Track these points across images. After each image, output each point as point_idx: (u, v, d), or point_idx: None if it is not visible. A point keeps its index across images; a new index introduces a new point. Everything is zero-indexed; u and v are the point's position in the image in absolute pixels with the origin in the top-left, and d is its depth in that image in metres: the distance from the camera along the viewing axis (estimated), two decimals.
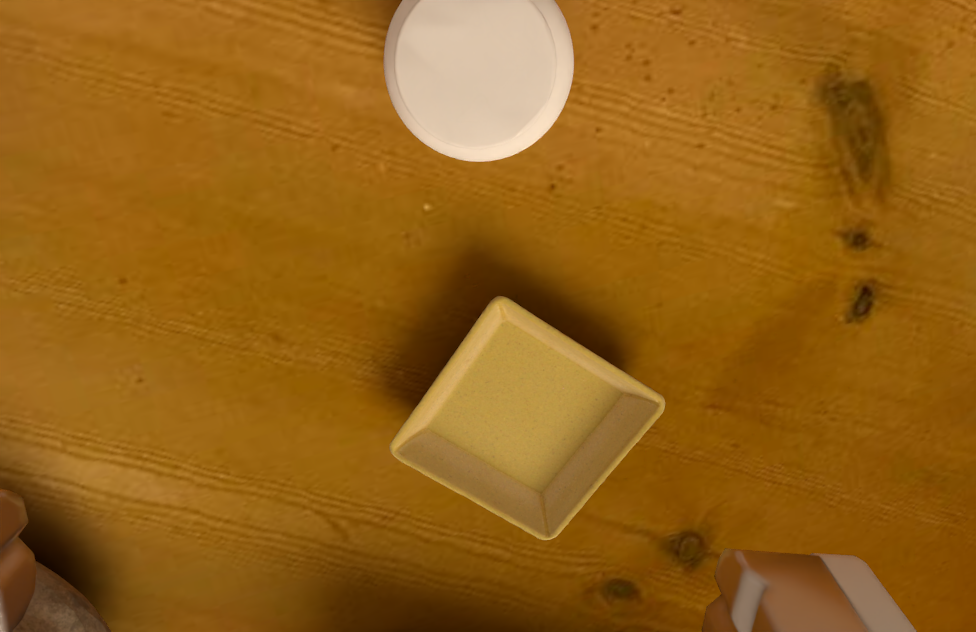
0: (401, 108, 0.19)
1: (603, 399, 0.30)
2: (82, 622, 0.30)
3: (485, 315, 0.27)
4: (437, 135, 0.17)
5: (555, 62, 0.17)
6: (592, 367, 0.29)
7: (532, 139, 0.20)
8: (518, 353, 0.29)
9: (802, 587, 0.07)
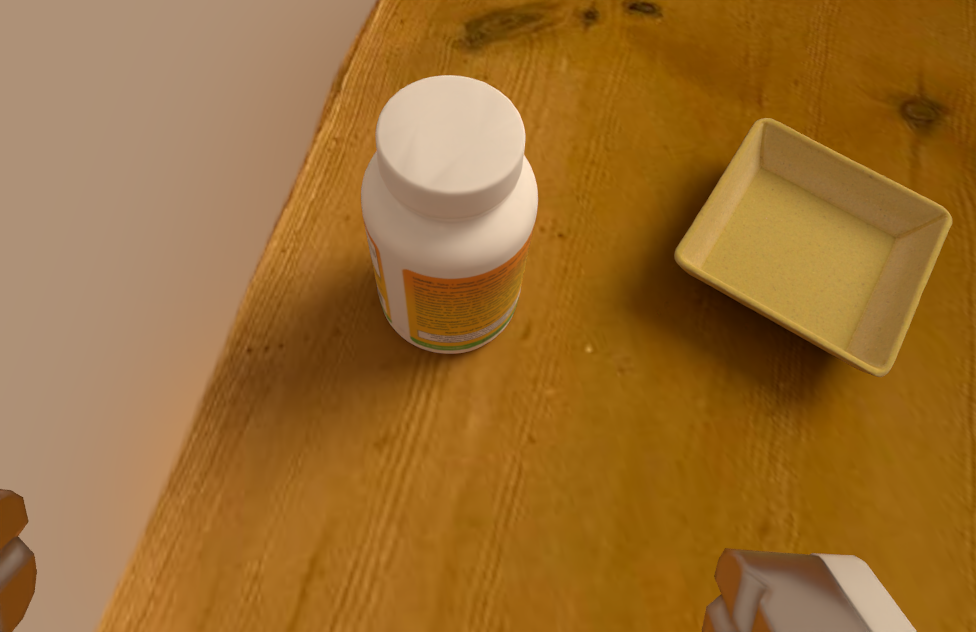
0: (489, 247, 0.20)
1: (771, 183, 0.29)
2: None
3: (697, 269, 0.26)
4: (513, 162, 0.18)
5: (449, 76, 0.19)
6: (738, 188, 0.29)
7: None
8: (735, 259, 0.28)
9: (802, 587, 0.07)
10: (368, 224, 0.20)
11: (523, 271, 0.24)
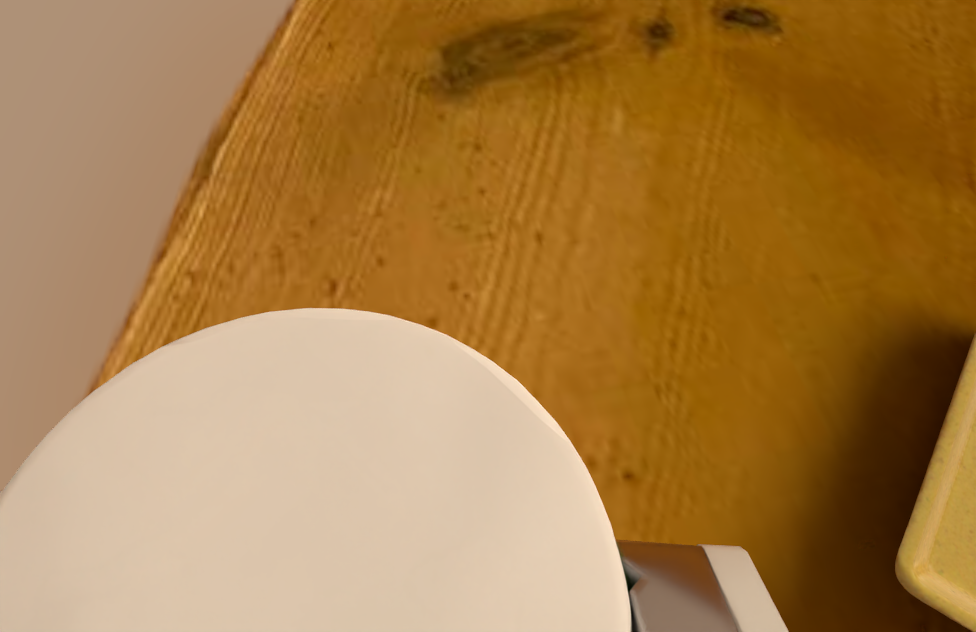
0: None
1: None
2: None
3: (954, 608, 0.11)
4: None
5: (311, 310, 0.05)
6: None
7: None
8: None
9: (677, 577, 0.07)
10: None
11: None
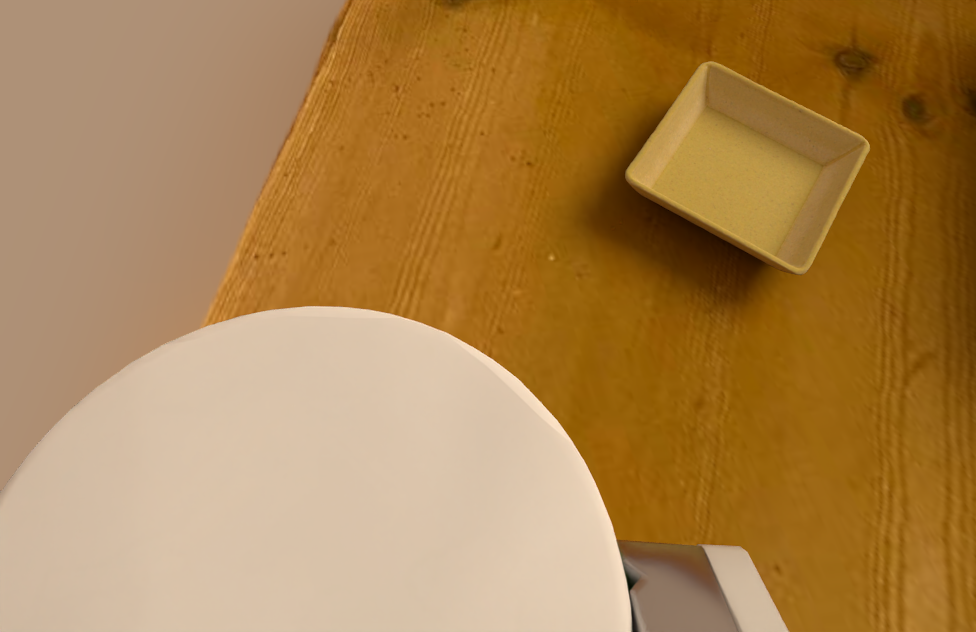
0: None
1: (715, 119, 0.33)
2: None
3: (644, 186, 0.30)
4: None
5: (312, 309, 0.05)
6: (684, 122, 0.33)
7: None
8: (681, 182, 0.32)
9: (677, 577, 0.07)
10: None
11: None
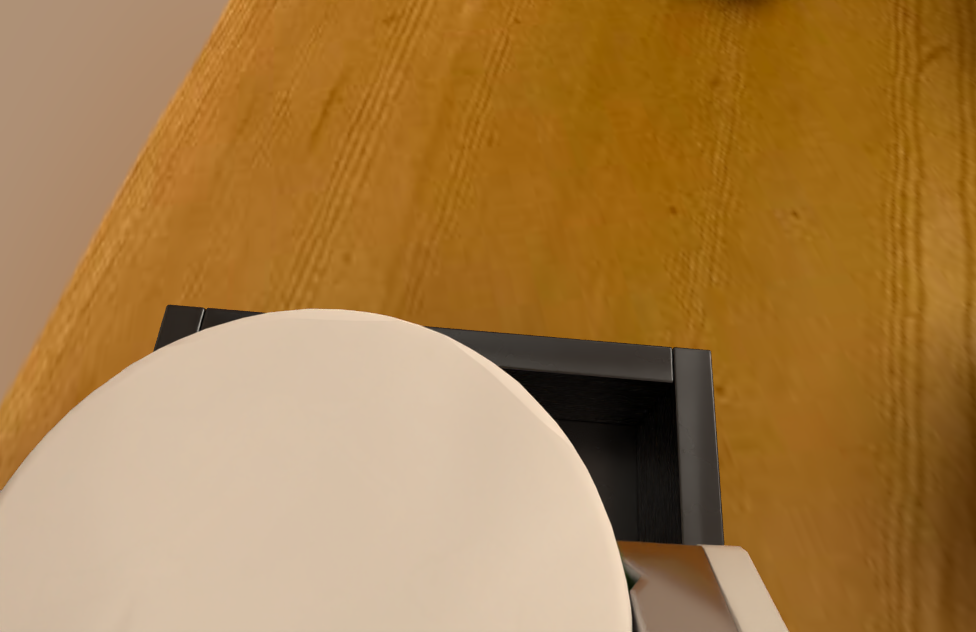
0: None
1: None
2: None
3: None
4: None
5: (311, 311, 0.05)
6: None
7: None
8: None
9: (677, 577, 0.07)
10: None
11: None
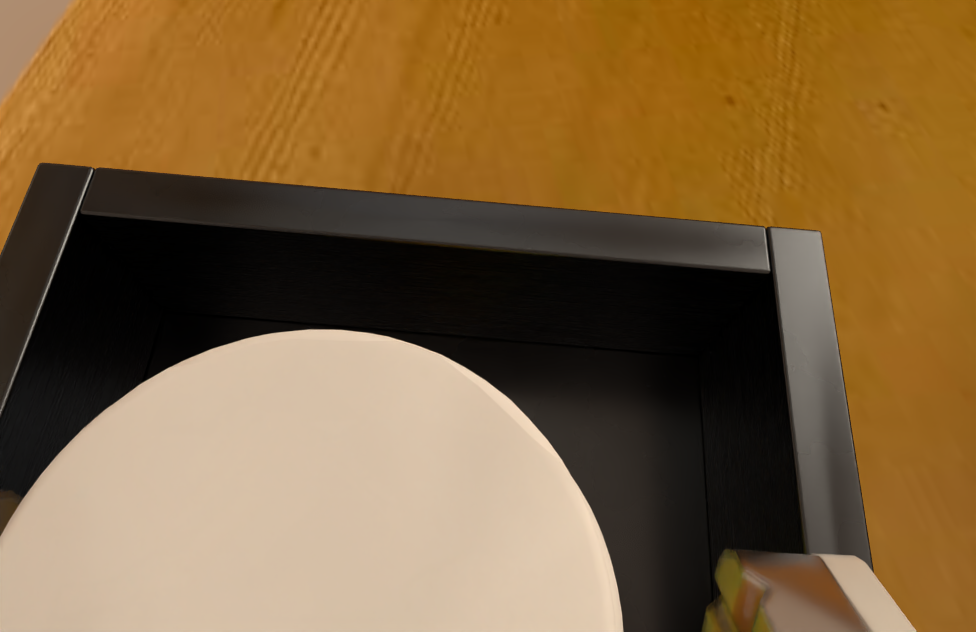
0: None
1: None
2: None
3: None
4: None
5: (312, 331, 0.05)
6: None
7: None
8: None
9: (802, 587, 0.07)
10: None
11: None
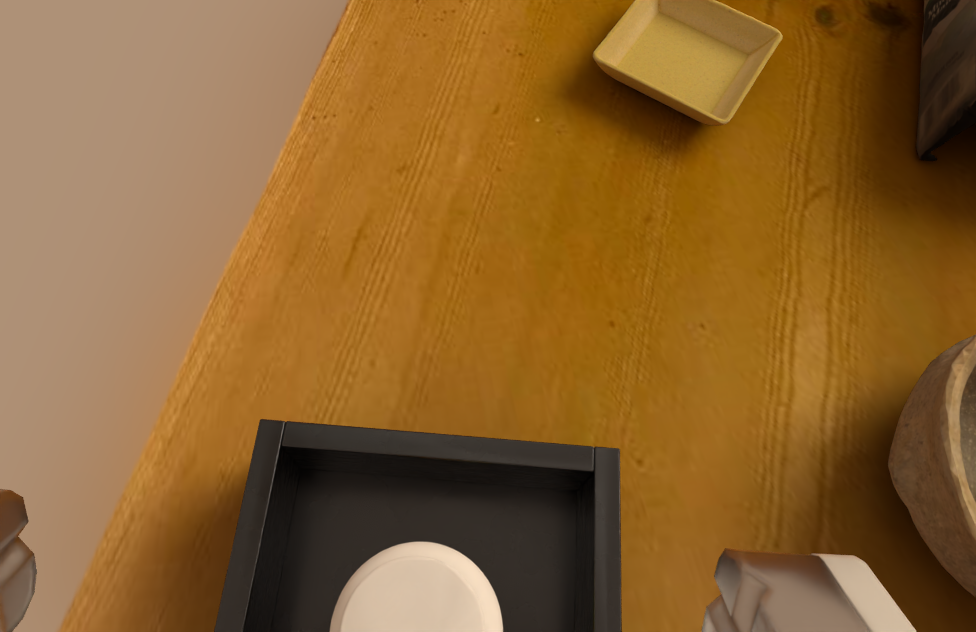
0: None
1: (665, 21, 0.43)
2: (957, 343, 0.31)
3: (607, 62, 0.39)
4: None
5: (411, 556, 0.19)
6: (641, 22, 0.42)
7: (481, 577, 0.22)
8: (637, 65, 0.41)
9: (802, 587, 0.07)
10: None
11: None
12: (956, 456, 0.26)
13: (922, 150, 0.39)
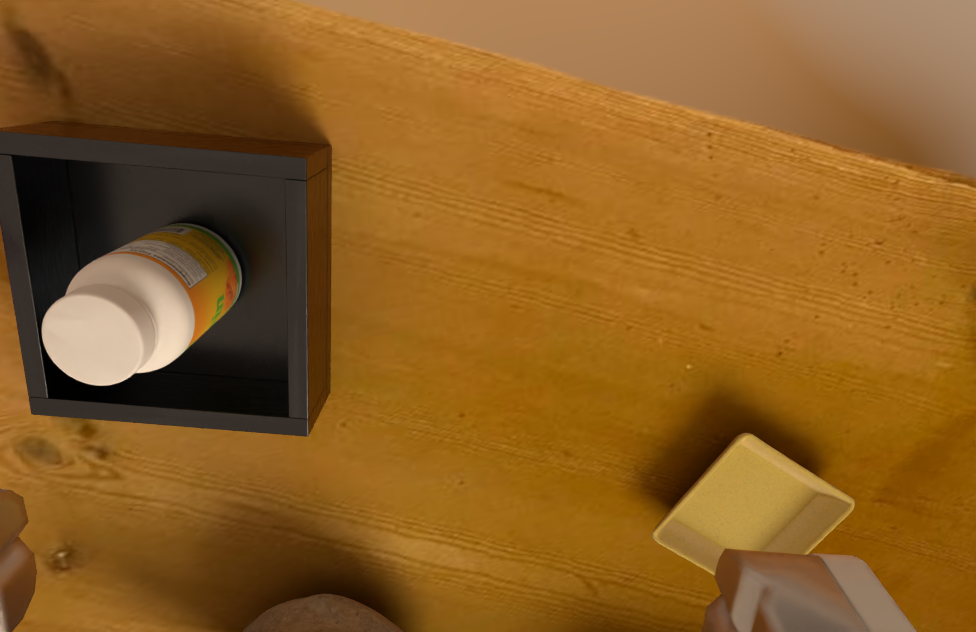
0: None
1: (803, 497, 0.41)
2: None
3: (735, 445, 0.38)
4: (76, 378, 0.28)
5: (141, 338, 0.27)
6: (800, 476, 0.40)
7: (167, 362, 0.30)
8: (744, 466, 0.41)
9: (802, 587, 0.07)
10: (90, 263, 0.29)
11: None
12: None
13: None
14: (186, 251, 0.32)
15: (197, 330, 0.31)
